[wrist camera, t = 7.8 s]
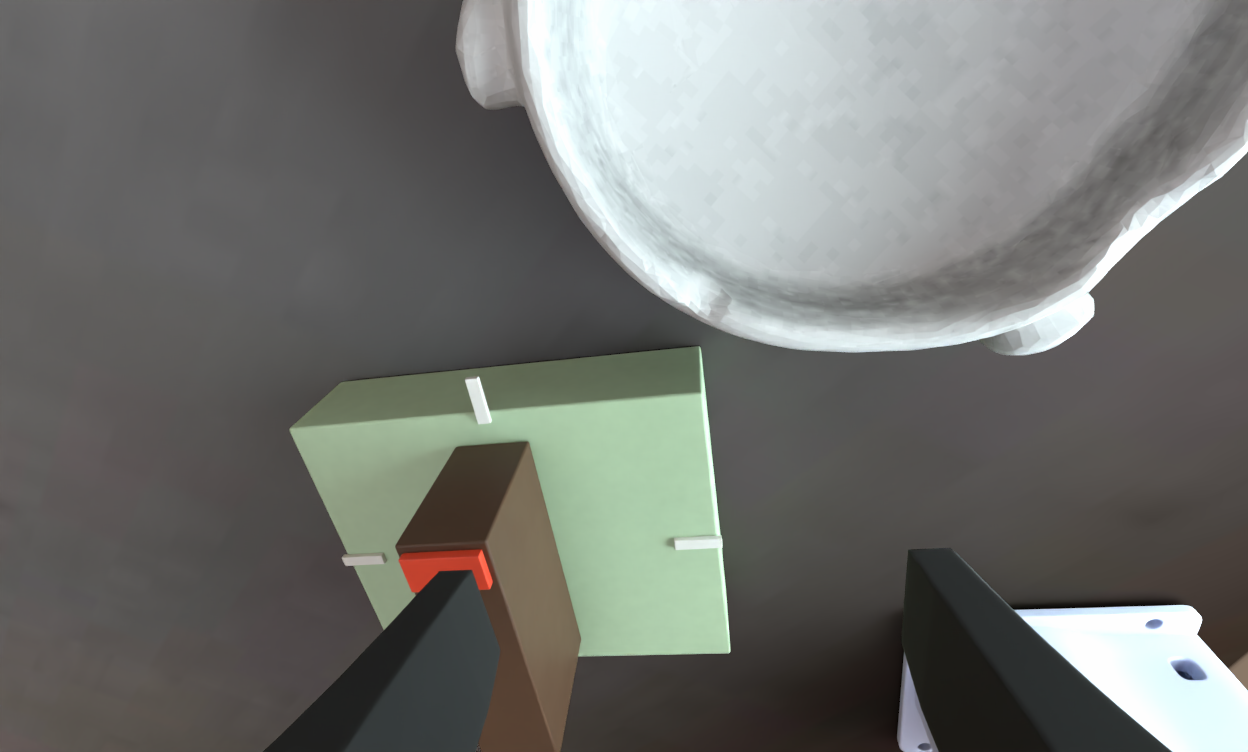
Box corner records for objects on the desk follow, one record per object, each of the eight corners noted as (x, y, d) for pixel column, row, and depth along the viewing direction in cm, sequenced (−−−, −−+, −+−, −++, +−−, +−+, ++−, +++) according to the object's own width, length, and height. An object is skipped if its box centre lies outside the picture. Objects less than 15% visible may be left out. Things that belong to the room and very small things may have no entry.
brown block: (581, 638, 20) (557, 769, 16) (519, 640, 20) (481, 769, 17) (529, 440, 16) (483, 549, 13) (455, 446, 17) (388, 554, 13)
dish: (467, 119, 16) (380, 138, 11) (819, -662, 10) (931, -1283, 5) (886, 395, 18) (950, 499, 14) (1374, -90, 12) (1769, -182, 8)
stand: (700, 311, 17) (703, 356, 15) (730, 605, 23) (736, 680, 20) (325, 351, 19) (264, 398, 17) (435, 615, 25) (402, 685, 22)
